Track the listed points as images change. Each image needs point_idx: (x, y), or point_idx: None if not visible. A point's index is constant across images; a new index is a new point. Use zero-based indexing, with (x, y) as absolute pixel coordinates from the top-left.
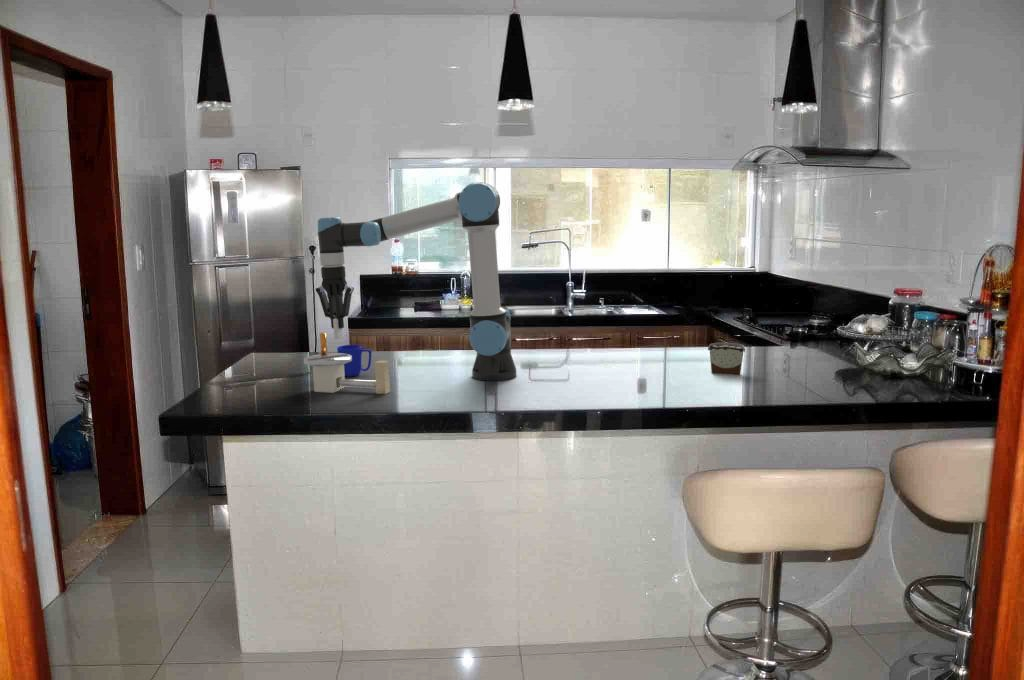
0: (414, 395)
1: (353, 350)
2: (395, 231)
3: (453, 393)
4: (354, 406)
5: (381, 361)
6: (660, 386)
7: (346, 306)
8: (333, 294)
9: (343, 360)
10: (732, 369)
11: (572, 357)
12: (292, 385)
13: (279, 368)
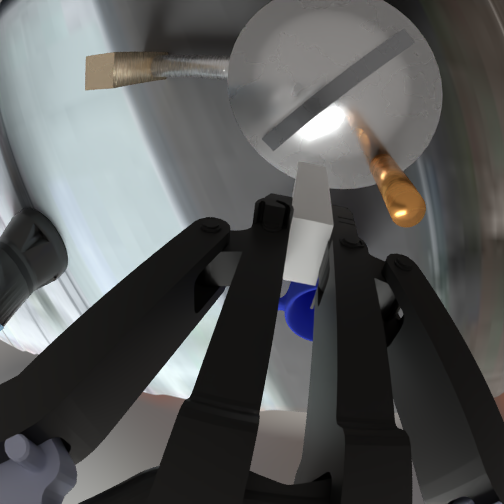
0: (81, 65)
1: (301, 287)
2: None
3: (33, 107)
4: None
5: (100, 73)
6: None
7: (131, 277)
8: (299, 488)
9: (239, 35)
10: None
11: (39, 333)
12: (459, 144)
13: (493, 318)
